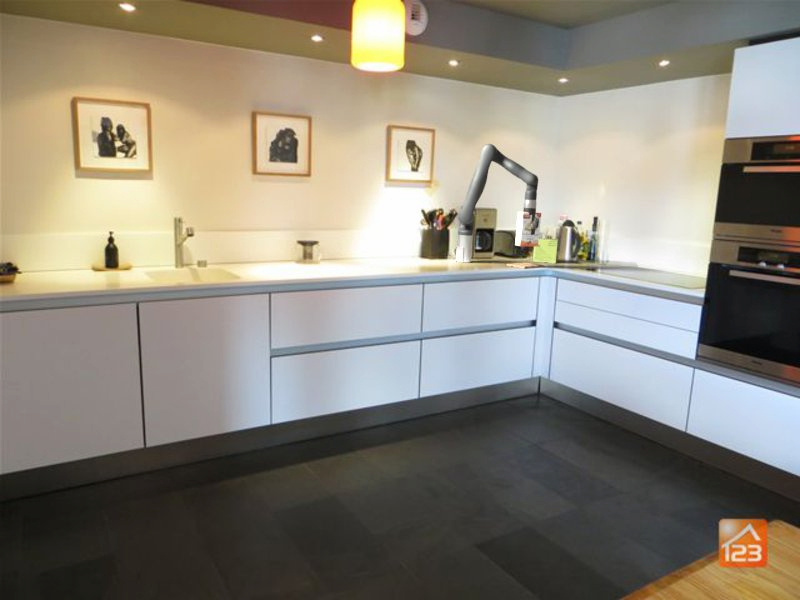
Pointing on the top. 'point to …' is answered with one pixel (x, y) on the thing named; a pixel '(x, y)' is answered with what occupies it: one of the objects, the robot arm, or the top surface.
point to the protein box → (546, 251)
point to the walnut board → (525, 265)
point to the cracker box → (526, 230)
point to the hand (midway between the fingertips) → (527, 234)
